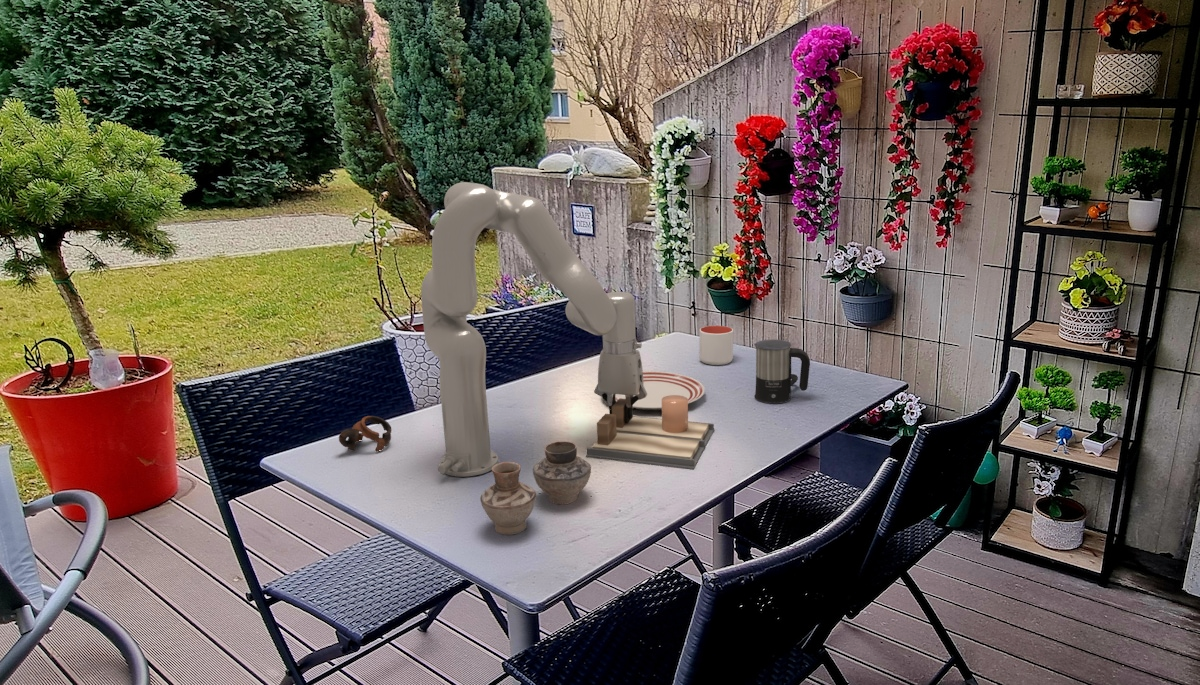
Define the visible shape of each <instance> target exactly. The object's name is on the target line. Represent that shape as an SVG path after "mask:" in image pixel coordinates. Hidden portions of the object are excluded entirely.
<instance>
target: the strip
mask: <svg viewBox="0 0 1200 685" xmlns="http://www.w3.org/2000/svg"><path fill="white" fill-rule="evenodd" d="M596 434H597V435H596V436H597V437H596V438H597V440H596V441H595V443H593V445H592V446H591V448H596V449H605V450H614V451H623V452H632V453H641V454H650V455H659V456H668V457H677V458H686V459H692V458H693V457H694V455H695V453H696V451H697V449H698V448H699V441H694V440H684V439H675V438H665V437H655V436H645V435H636V434H626V433H617V431H616V415H615V414H609V413H605V414H603V416H602V417H601V418H599V420H598V421H597V422H596Z"/></svg>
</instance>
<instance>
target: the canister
mask: <svg viewBox="0 0 1200 685" xmlns="http://www.w3.org/2000/svg"><path fill="white" fill-rule="evenodd" d="M661 419H662V430H664V431H666V432H669V433H681V432H685V431H687V430H688V421H689V404H688V399H687V398H686V397H684V396H680V395H670V396H665V397H663V398H662V410H661Z"/></svg>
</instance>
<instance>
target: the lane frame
mask: <svg viewBox="0 0 1200 685" xmlns="http://www.w3.org/2000/svg"><path fill="white" fill-rule="evenodd" d="M633 417H638V416H635V415H633ZM640 417H641V418H649V417H648V416H647V417H645V416H640ZM651 418H652V419H659V418H657V417H651ZM688 422H691V421H689V420H688ZM693 422H694V423H702V422H701V421H699V422H698V421H693ZM703 423H704V424H709V429H708V431H707V433H706V435H705V436H704V438H703V440H695V439H685V438H675V437H665V436H656V435H646V434H636V433H626V432H617V433H626V434H636V435H645V436H655V437H665V438H675V439H684V440H694V441H699V448H698V449H697V451H696V453H695V455H694V457H693V458H692V459H686V458H677V457H668V456H659V455H650V454H641V453H632V452H623V451H614V450H605V449H596V448H592V447H586V448H585V449H586V455H585V458H589V459H590V458H591V459H599V460H608V461H617V462H625V463H633V464H634V463H636V464H641V463H642V464H643V465H650V464H651V465H652V466H659V465H660V467H661V466H662V467H668V468H669V467H670V468H677V469H678V468H679V469H685V470H687V469H688V470H694V469H695V467H696V466H697V463H699V462H698V461H699V460H700V458H701V456H702V454H703V452H704V450H705V448H706V447H705V446H707V445H706V444H708V443H709V441H710V439H711V437H712V436H713V433H714V431H715V424H714V423H709V422H708V423H707V422H703ZM707 442H708V443H707Z"/></svg>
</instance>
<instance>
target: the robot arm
mask: <svg viewBox="0 0 1200 685" xmlns="http://www.w3.org/2000/svg"><path fill="white" fill-rule="evenodd" d="M443 203H444V204H443V205H444V210H443V211H442V213H441V215H440V216H439V218H438V219H437V221H436V223H435V226H434V228H433V232H432V236H431V237H432V239H431V261H432V262H431V265H432V268H431V269H430V270H429V271H428V272H427V273H426V274H425V275H424V277H423V280H422V282H421V289H420V298H421V300H420V301H421V312H422V324H423V333H424V339H425V343H426V345H427V348H428V349H429V350H430V352H432V354H433V355H435V356H436V357H437V359H438V360H439V395H440V402H441V403H440V404H441V413H442V414H441V415H442V426H443V435H444V445H445V452H444V456H443V457H441V459H440V460H439V465H438V466H437V468H436V470H437V472H438V473H439V474H440V475H443V474H446V475H447V476H452V477H461V478H462V477H465V478H466V477H475V476H479V475H483V474H486V473H488V472H490V471H492V467H493V466H494V465H496V464H498V463H500V462H499V456H498V454H497V453H496V452H494V451H493V450H491V438H490V426H489V412H488V410H489V409H488V401H487V400H488V399H487V398H488V397H487V389H486V387H487V386H486V361H487V348H486V343H485V340H484V338H483V336H482V334H481V333H480V332H479V331H478V329H477V328H475V327H474V326H472V325H471V324H469V323H468V322H467V316H468V315H470V314H471V313H472V312H473V311H474V310H475V308H476V306H477V302H478V286H477V284H478V283H477V273H476V272H477V271H476V245H477V244H476V243H477V240H478V237H479V235H480V234H481V232H482V231H484V229H489V230H494V231H499V232H503V233H504V232H505V233H510V234H513V235H514V236H515V237H516V239H517V240H518V242H519V244H520V245H521V246H522V248H523V249H524V251H525V252H526V254H527V256H528V257H529V259H530V261H531V262H532V263H533V265H534V267H535V269H536V270H537V272H538V273H539V274H540V275H541V276H542V277H543V278H544V279H545V280H546V281H547V282H548V283H550V284H551V285H552V286H554V287H555V288H556V289H557V290H559V292H561V293H562V294H563V295H564V297H566V298H567V299H568V302H567V303H566V305H565V315H566V319H567V320H568V321H569V322H570V323H571V324H572V325H573V326H576V327H577V328H580V329H581V330H584V331H586V332H588V333H590V334H592V335H594V336H602V349H601V351H600V354H599V360H598V369H597V385H596V386H595V388H594V391H593V392H594V394H595V395H597V396H599V397H602V398H601V399H603V400H604V401H605V402H606V404H607V406H608V409H609V411H608V412H609V413H608V414H612V406H613V405H614V404H615V403H616V394H622V395H625V398H626V406H625V408H624V422H625V423H628V422H629V421H630V420H631V419H632V417H633V416H634V415H633V414H634V413H633V411H634V410H633V409H634V408H633V404H634V403H635V402H636V401H638V400H640V399H643V398H645V397H646V396H647V392H646V390H645V388H644V380H643V371H644V370H643V365H642V363H643V362H642V356H641V352H640V351H639V350H638V349H641V348H642V342H640V341H637V337H636V308H635V307H636V302H635V297H634V295H633V294H632V293H631V292H627V291H612V292H611V291H610V292H606V291H605V289H604V288H603V286H602V284H601V283H600V281H599V280H598V279H597V278H596V277H595V276H594V274H593V273H592V272H591V271H590V269H588V268H587V267H586V265H585V264H584V263H583V262H582V260H581V259H580V258H579V256H577V254H576V253H575V252H574V251H573V249H572V248H571V246H570V245H569V243H568V242H567V239H566V238H565V237H564V234H563V233H562V232H561V230H560V229H559V226H558V225H557V224H556V222H555V220H554V219H553V217H552V216H551V214H550V212H549V211H548V209H547V208H546V206H545V205H544V203H543V202H542V201H540V200H539V199H538V198H536V197H534V196H529V195H523V194H518V193H512V192H507V191H501V190H498V189H493V188H491V187H489V186H488V185H485V184H481V183H475V182H468V181H464V182H457V183H455V184H453V185H452V186H450V187H449V188H448V190H447V191H446V193H445V195H444V199H443ZM638 393H639V394H638ZM634 395H635V396H634Z"/></svg>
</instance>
